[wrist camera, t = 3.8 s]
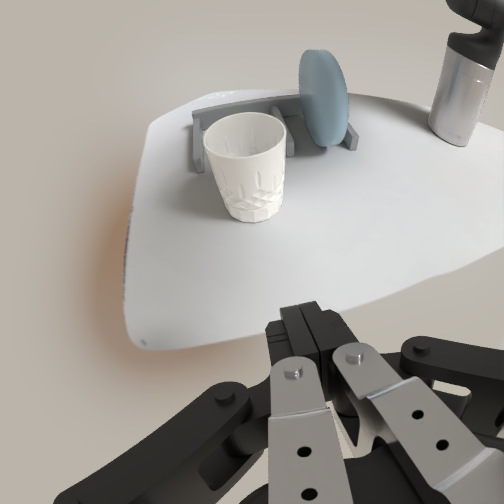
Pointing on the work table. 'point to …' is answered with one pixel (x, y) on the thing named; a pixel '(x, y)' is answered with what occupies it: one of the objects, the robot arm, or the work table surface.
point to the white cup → (248, 163)
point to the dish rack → (294, 107)
